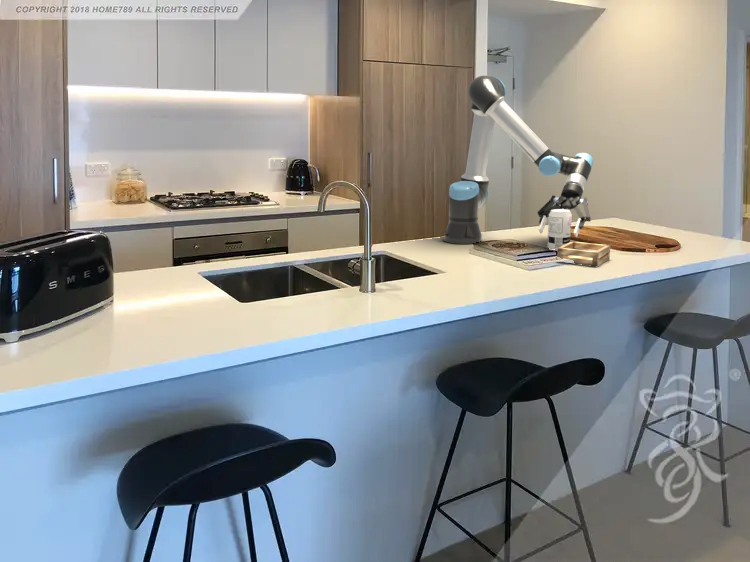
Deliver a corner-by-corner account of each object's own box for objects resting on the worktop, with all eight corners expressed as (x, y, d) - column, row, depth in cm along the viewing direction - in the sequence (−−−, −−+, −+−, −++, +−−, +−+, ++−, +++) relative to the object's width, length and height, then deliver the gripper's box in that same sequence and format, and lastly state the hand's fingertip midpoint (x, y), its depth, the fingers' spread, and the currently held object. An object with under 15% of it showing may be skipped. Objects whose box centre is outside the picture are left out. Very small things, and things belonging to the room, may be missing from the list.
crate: (556, 262, 243) (557, 248, 242) (570, 254, 254) (571, 241, 253) (596, 267, 236) (597, 252, 234) (609, 259, 247) (610, 245, 245)
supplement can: (544, 248, 267) (546, 209, 263) (565, 247, 267) (567, 208, 264) (551, 252, 259) (553, 212, 255) (572, 251, 260) (575, 211, 256)
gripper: (607, 196, 264) (592, 242, 256) (545, 192, 278) (528, 235, 269) (604, 184, 258) (588, 230, 250) (540, 180, 272) (523, 224, 264)
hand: (557, 233), depth 260 cm, fingers open, 13 cm apart
